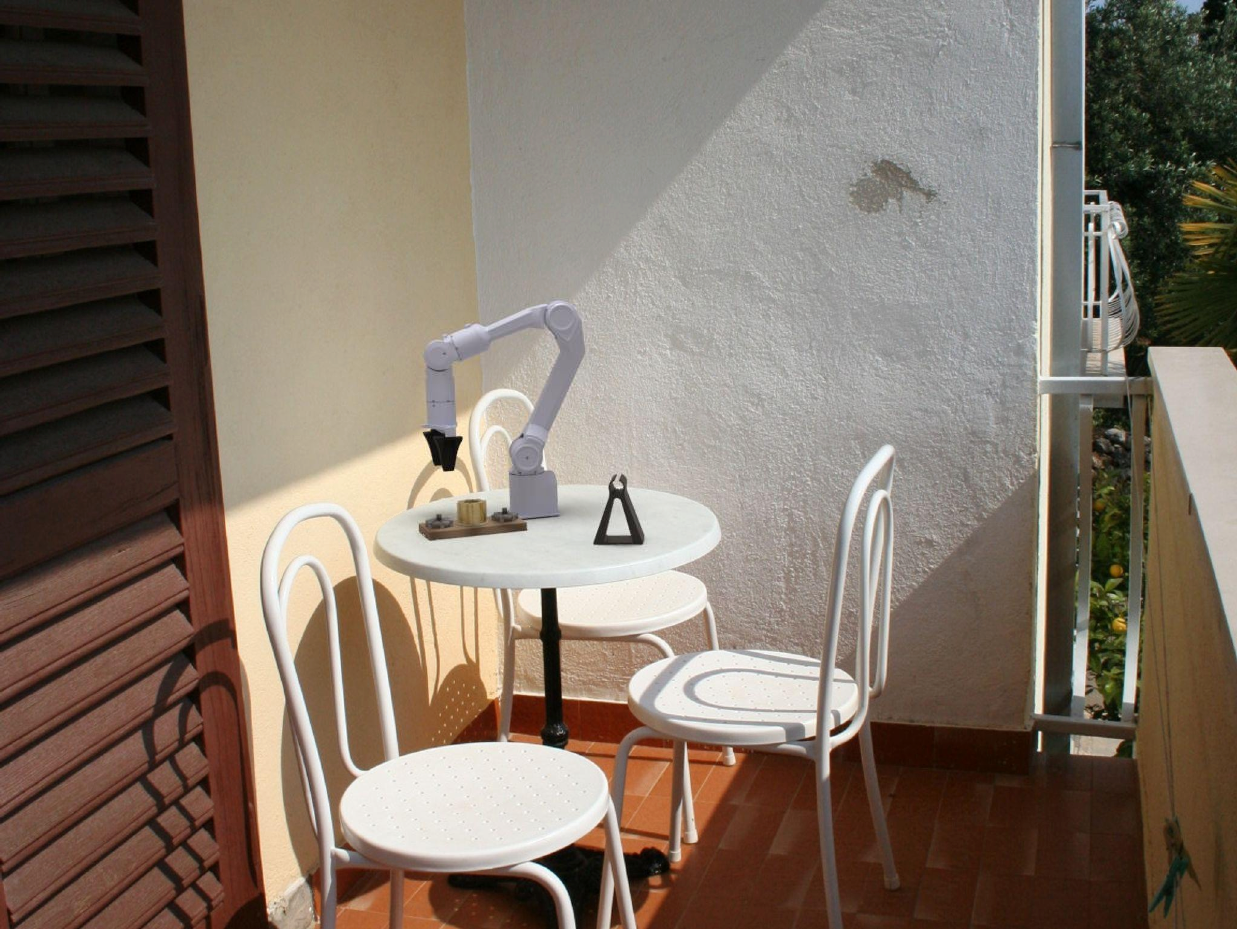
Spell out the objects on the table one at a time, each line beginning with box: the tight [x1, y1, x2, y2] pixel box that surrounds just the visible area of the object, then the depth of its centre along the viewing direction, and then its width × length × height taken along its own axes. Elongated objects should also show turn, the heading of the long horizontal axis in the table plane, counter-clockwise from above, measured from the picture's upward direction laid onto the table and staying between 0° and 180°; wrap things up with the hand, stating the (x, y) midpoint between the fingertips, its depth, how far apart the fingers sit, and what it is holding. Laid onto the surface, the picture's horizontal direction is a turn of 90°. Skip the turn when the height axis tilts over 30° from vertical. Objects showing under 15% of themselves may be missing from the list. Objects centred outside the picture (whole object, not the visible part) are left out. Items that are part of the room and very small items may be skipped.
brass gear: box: [456, 498, 488, 525], centre depth 236 cm, size 6×6×4 cm
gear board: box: [418, 507, 528, 541], centre depth 236 cm, size 19×9×5 cm, turn 112°
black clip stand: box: [593, 473, 645, 546], centre depth 225 cm, size 9×6×12 cm, turn 85°
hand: (443, 468), depth 246 cm, fingers open, 7 cm apart
